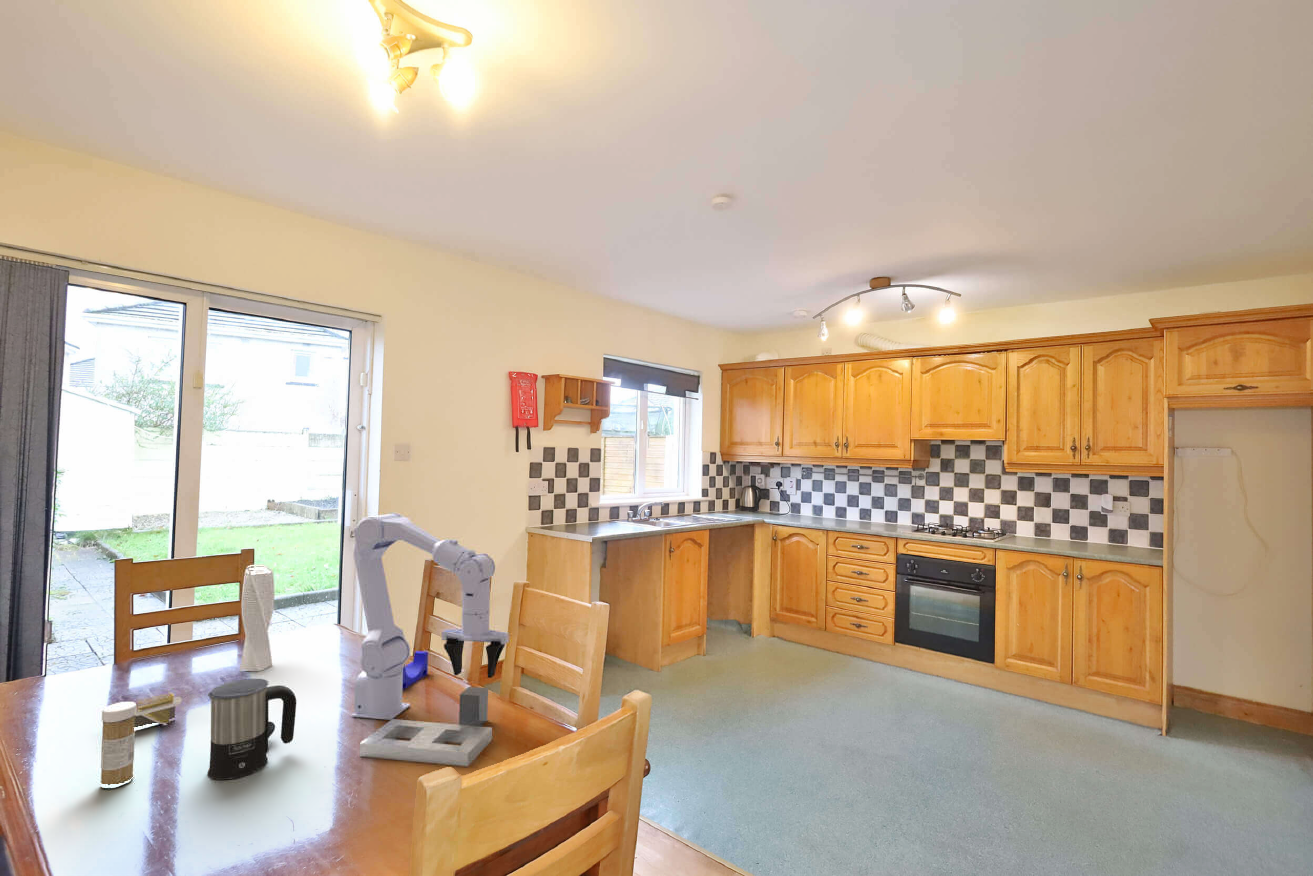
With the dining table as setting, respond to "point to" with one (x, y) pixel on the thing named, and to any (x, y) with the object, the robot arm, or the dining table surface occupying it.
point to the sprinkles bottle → (118, 743)
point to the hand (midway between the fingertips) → (474, 675)
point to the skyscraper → (257, 617)
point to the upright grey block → (473, 706)
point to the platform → (156, 710)
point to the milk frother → (245, 726)
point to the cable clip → (415, 669)
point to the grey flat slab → (427, 742)
